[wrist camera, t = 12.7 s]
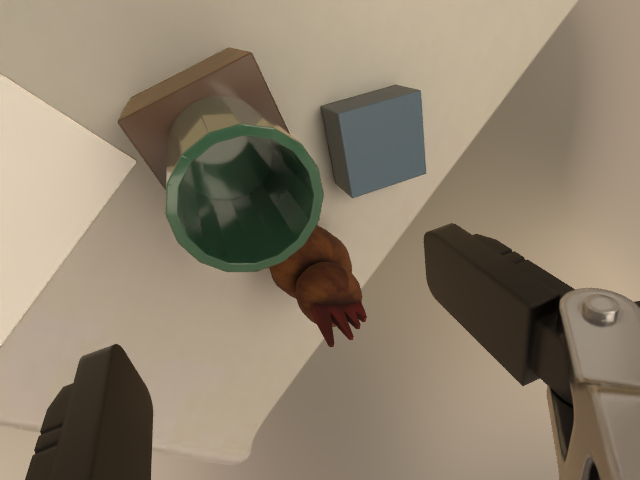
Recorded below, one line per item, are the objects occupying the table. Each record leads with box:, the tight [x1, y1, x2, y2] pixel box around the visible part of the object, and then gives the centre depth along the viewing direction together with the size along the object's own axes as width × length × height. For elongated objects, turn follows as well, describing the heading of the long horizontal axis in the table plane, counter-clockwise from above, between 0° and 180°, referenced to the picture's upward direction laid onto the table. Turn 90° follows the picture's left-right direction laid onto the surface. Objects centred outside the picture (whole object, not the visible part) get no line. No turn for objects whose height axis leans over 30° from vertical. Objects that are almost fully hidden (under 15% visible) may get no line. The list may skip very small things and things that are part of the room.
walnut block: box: [117, 48, 290, 190], centre depth 27 cm, size 8×8×9 cm
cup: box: [165, 95, 324, 272], centre depth 20 cm, size 6×6×8 cm
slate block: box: [321, 85, 426, 198], centre depth 34 cm, size 7×7×4 cm
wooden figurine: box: [269, 225, 367, 347], centre depth 32 cm, size 7×6×15 cm
